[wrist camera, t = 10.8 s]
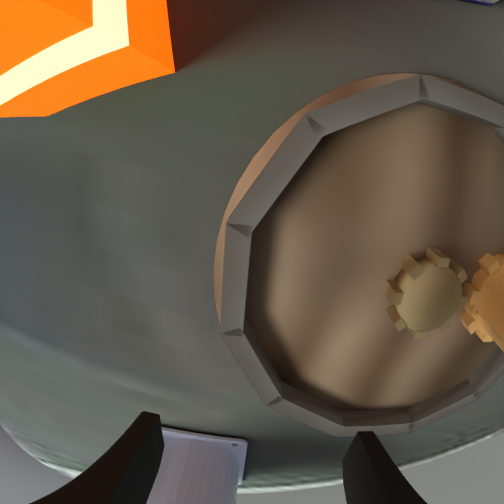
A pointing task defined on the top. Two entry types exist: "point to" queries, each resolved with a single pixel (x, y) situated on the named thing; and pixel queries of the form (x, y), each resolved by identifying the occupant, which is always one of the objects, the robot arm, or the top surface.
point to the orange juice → (77, 51)
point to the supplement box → (483, 1)
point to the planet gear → (486, 300)
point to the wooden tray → (366, 256)
